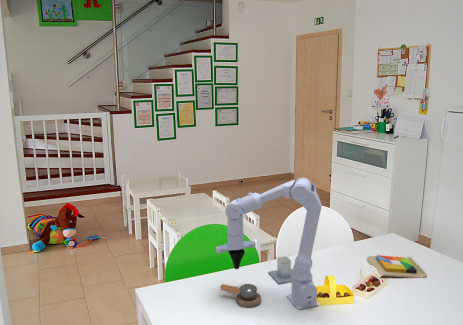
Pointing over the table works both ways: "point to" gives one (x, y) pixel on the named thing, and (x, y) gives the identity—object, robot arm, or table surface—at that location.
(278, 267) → the translucent grey block
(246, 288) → the small saucepan
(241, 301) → the base
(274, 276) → the mat
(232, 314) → the table surface
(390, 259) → the wooden puzzle
